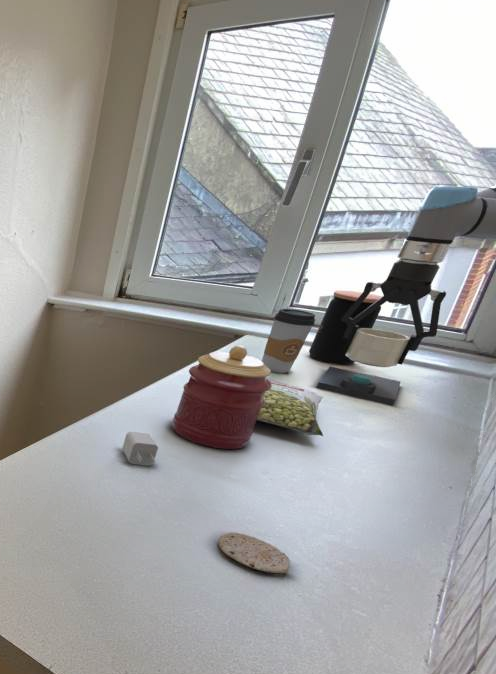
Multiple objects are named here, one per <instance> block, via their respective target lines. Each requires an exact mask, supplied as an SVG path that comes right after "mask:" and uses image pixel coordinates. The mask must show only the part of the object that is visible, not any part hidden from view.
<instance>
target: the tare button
mask: <svg viewBox="0 0 496 674" xmlns="http://www.w3.org/2000/svg"><path fill="white" fill-rule="evenodd" d="M370 380H371V377H369V376H366V375H362V374H354V375H353V377H352V380H351V381H352V382H355V383H358V384H364V385H369V382H370Z"/></svg>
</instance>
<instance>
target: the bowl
mask: <svg viewBox="0 0 496 674" xmlns="http://www.w3.org/2000/svg"><path fill="white" fill-rule="evenodd" d="M410 337H411V336H408V335H405V334H402V333H399V332H395V331H390V330H385V329H379V328H373V327H372V328H359V329H357V331H356V333H355V335H354V337H353V339H352V341H351V344H350V346H349V348H348V350H347V352H346V354H345V355H346V356H347V357H349V359H350V360H352V361H355V362H354V363H358V364H361V365H364V366H365V365H367V366H371V367H375V368H391V367H396V366H397V365H399V364H398V362H399V360H400V358H401V356H402V354H403V352H404V350H405V348H406V346H407V344H408V342H409V340H410Z"/></svg>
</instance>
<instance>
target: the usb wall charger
mask: <svg viewBox="0 0 496 674" xmlns="http://www.w3.org/2000/svg"><path fill="white" fill-rule="evenodd" d="M121 450H122V452H123V453H124V455H125V457H126V459H127V461H128V462H129V463H130V464H133V465H142V466H151V465H153V464H155V462H156V456H157V453H158V450H159V447H158V445H157V443H156V442H155V440H154V439H153V437H152V436H151V434H150V433H146V432H137V431H128V432H127V433H126V434H125V438H124V441H123V444H122V447H121Z"/></svg>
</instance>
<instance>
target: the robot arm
mask: <svg viewBox="0 0 496 674" xmlns="http://www.w3.org/2000/svg"><path fill="white" fill-rule="evenodd" d="M416 213H417V214H416V215H415V219H414V220H413V222H412V225H411V227H410V229H409V232H408V234H407V236H406V238H405V239H404V242H403V244H402V246H401V248H400V250H399V252H398V254H397V258H398V260H396V261H394V263H393V265H392V267H391V269H390V271H389V272H388V276H387V278H386V279H385V280H384V281H383V282H374V281H373V280H369V281H368V282H366V284H365V286H364V288H363V291H362V294H361V295H360V297H359V298H358V299H357V300H356V301H355V302H354V304H353V305H352V306H351V307H350V308H349V310H348V311H347V312H346V313H345V314H344V316H343V317H342V318H341V321H343V322H345V323H347V324H348V327H347V329H346V331H345V333H344V336H343V337H344V338H346V339H348V341H347V343H346V345H345V347H344V349H343V352H342V353H346V352H347V350H348V348H349V346H350V344H351V341H352V339H353V337H354V335H355V333H356V331H357V329H358V327H359V326H358V325H356V324H357V323H358V322H359V321H361V320H362V319H363V318H365V317H366V316H367V315H369V314H370V313H371V312H373V311H374V310H375V309H377V308H378V307H379V306H381V307H382V305H384V304H385V303H387V302H388V304H389V303H390V304H400V305H403V306H409V308H410V312H411V317H412V322H413V327H414V330H415V331H414V332H415V335H414V334H411V336H409V337H410V340H409V342H408V344H407V346H406V348H405V350H404V352H403V354H402V356H401V358H400V360H399V362H398V364H397V365H400V366H401V365H403V363H404V362H405V359H406V357H407V356H408V353H409V352H411V351H412V352H416V351H417V350H418V348H419V346H420V344H421V342H422V341H423V339H424V338H434V337H436V336H437V333H438V327H439V319H440V312H441V305H442V302H443V301H444V299H445V298H446V296H447V292H446V291H445V290H436V289H432V283H433V281H434V279H435V277H436V276H437V274H438V273H439V272H438V271H439V270H440V268H441V267H440V265H439V264H440V263H442V262H444V260H445V257H446V256H447V254H448V252H449V250H450V248H451V246H452V244H453V243H454V240H455V238H456V237H457V236H459V237H460V236H462V237H476V238H488V239H489V238H490V239H496V185H494V186H491V187H489V188H486V189H482V190H480V191H479V189H478V188H477V187H474V186H473V187H472V186H471V187H470V186H454V185H451V186H450V185H437V186H434V187H432V188H431V189H429V191H428V192H427V194H426V195H425V197H424V199H423V201H422V202H421V204H420V206H419V207H418V211H417V212H416ZM377 289H380V290H381V292H382V297H381V298H380V299H379V300H377V301H376V302H375V303H373V304H372V305H371V306H370V307H368V308H367V309H366V310H364V311H363V312H362V313H360V314H359V315H358V316H356V317H355V318H354V319H352V318H350V316H351V315H352V314H353V313H354V311H355V310H356V309H357V308H358V307H359V305H360V304H361V303H362V302H363V301H364V300H365V298H366V297H367V296H368V295H369V294H371V293H373V292H375V291H376V290H377ZM428 295H429V296H430V300H431V301H433V302H432V308H431V315H430V322H429V329H428V330H425V329H424V324H423V320H422V313H421V311H420V304H419V301H420V300H421V299H423V298H424V297H426V296H428Z"/></svg>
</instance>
